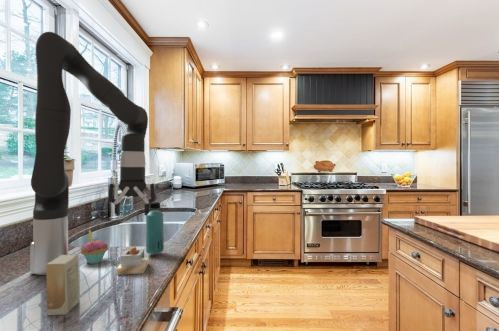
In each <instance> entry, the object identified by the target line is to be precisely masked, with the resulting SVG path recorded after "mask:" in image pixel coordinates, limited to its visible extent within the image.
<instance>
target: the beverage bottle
mask: <svg viewBox="0 0 499 331" xmlns="http://www.w3.org/2000/svg"><path fill="white" fill-rule="evenodd" d="M160 208H161V202H159V201H154V202H151V203H150V212H149V213H148V215H145V223H146V224H145V227H146V229H145V231H146V232H145V247H146V248H145V252H146V254H148V255H149V254H150V255H155V254H160V253H162V252H164V249H165V248H164V247H165V238H164V213H163V212H162V211H161V210H155V209H160Z"/></svg>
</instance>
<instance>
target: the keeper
mask: <svg viewBox="0 0 499 331" xmlns="http://www.w3.org/2000/svg"><path fill="white" fill-rule="evenodd" d="M129 250H130V255H131V254H136V250H137V246H133V247H132V246H131V247H130V248H129ZM148 264H149V258H147V257H144V261H143V263H142V264H141V266H131V267H121V262H120V264H119V265H118V266H117V267H116V275H118V276H119V275H120V276H122V275H134V274H135V275H136V274H138V275H139V274H144V273H145V272H146V269H147V267H148Z"/></svg>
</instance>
